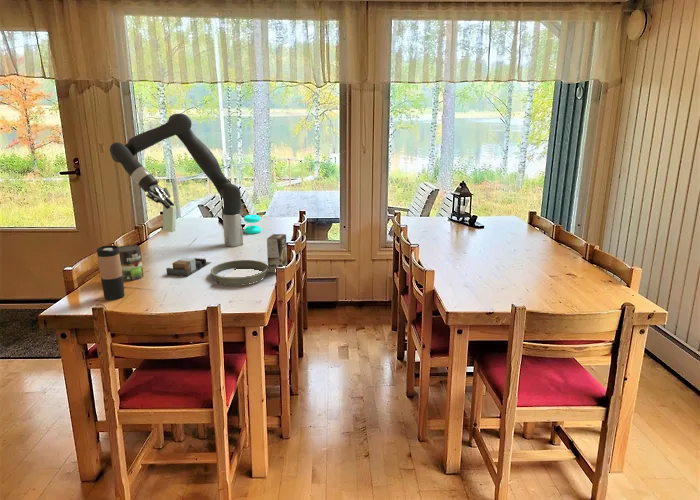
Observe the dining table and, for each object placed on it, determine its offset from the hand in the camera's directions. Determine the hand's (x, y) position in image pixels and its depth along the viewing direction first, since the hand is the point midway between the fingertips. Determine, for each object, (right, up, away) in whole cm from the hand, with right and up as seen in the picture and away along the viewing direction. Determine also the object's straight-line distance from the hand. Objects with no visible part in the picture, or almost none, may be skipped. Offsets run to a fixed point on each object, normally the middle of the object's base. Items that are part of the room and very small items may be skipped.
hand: (170, 206), depth 219 cm
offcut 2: (+9, -29, -3) cm, 30 cm away
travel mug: (-10, -38, -32) cm, 51 cm away
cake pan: (+34, -32, -9) cm, 48 cm away
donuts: (+24, -9, +68) cm, 72 cm away
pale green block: (-2, -11, +4) cm, 12 cm away
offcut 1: (+8, -30, -7) cm, 32 cm away
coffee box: (+49, -29, 0) cm, 57 cm away
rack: (+9, -29, -1) cm, 31 cm away
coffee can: (-13, -33, -12) cm, 37 cm away
